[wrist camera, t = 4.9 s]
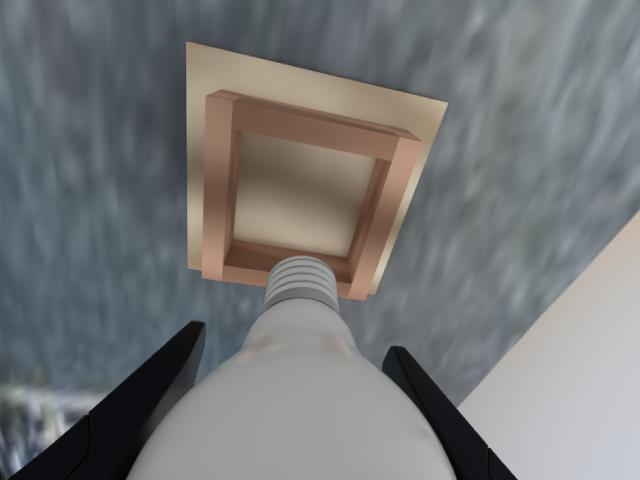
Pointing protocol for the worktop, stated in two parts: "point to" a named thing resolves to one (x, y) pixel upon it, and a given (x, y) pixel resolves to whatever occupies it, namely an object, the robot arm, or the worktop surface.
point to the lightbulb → (295, 402)
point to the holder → (298, 168)
